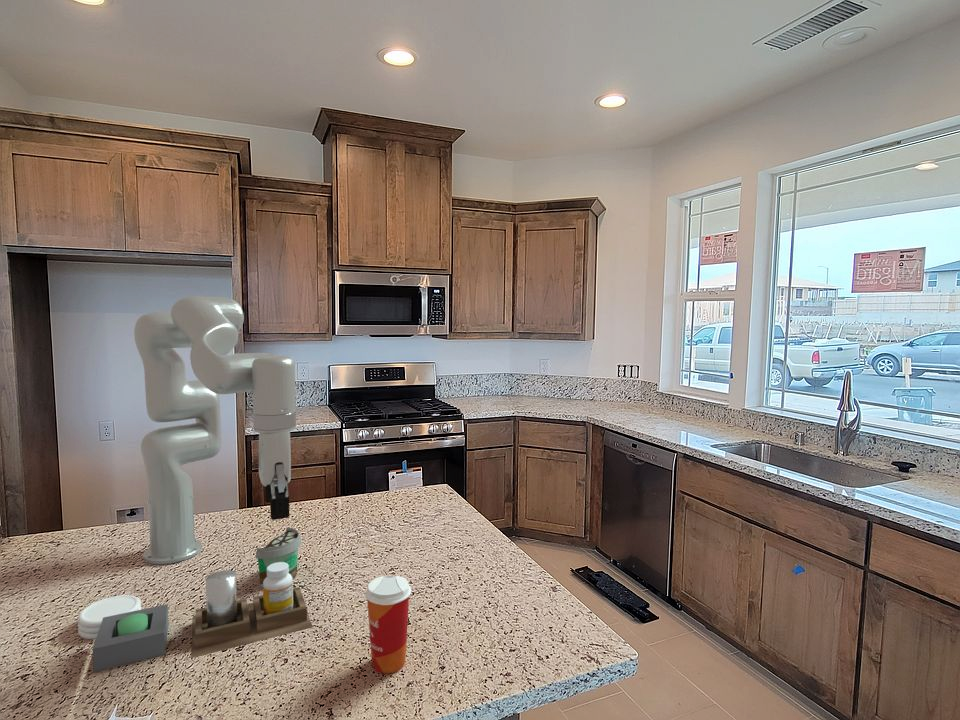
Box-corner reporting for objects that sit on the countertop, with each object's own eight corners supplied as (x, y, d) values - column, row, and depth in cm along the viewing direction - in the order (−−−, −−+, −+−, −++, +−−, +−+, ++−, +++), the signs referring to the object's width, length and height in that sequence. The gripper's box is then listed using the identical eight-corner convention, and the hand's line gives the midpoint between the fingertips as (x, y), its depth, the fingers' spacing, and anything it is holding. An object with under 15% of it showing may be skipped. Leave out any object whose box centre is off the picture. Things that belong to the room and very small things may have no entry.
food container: (282, 597, 111) (281, 551, 110) (256, 594, 112) (255, 549, 111) (312, 570, 123) (311, 528, 122) (288, 567, 124) (287, 526, 123)
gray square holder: (104, 644, 95) (103, 617, 94) (168, 629, 99) (167, 603, 99) (94, 678, 86) (92, 649, 85) (165, 660, 90) (164, 632, 90)
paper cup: (368, 650, 94) (368, 574, 93) (412, 648, 94) (412, 572, 93) (362, 680, 86) (362, 598, 85) (410, 677, 87) (410, 596, 85)
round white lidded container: (141, 630, 99) (140, 612, 99) (75, 647, 94) (73, 628, 94) (142, 605, 108) (141, 588, 107) (81, 619, 103) (80, 602, 102)
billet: (207, 624, 99) (205, 573, 98) (236, 618, 101) (235, 568, 101) (207, 639, 95) (205, 586, 94) (238, 632, 97) (236, 579, 96)
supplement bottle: (267, 608, 105) (265, 561, 104) (295, 605, 106) (294, 559, 105) (261, 623, 100) (259, 574, 99) (291, 621, 101) (289, 572, 100)
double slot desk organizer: (193, 621, 102) (192, 603, 102) (300, 596, 111) (300, 580, 111) (191, 663, 90) (190, 644, 89) (312, 632, 99) (312, 614, 98)
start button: (120, 641, 93) (119, 617, 93) (149, 634, 95) (148, 611, 95) (116, 655, 89) (115, 630, 89) (147, 648, 92) (146, 623, 91)
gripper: (250, 415, 105) (252, 498, 107) (257, 432, 90) (259, 529, 92) (289, 412, 109) (291, 492, 110) (303, 428, 94) (304, 522, 95)
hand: (276, 509), depth 101 cm, fingers open, 9 cm apart
